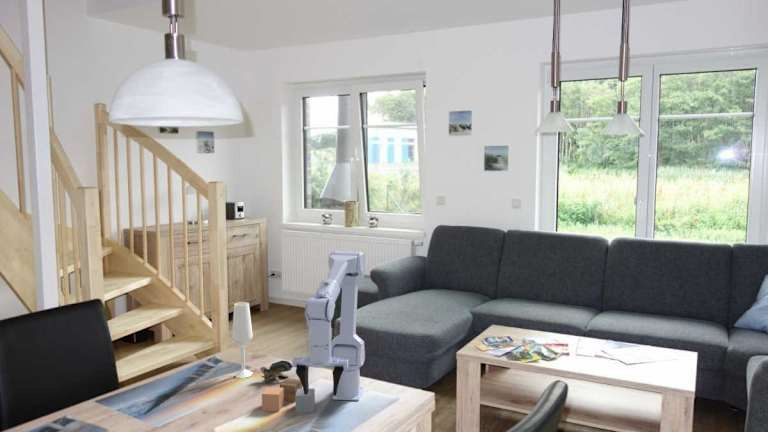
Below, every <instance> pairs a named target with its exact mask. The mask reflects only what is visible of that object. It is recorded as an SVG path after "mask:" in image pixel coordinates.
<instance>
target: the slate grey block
mask: <svg viewBox="0 0 768 432" xmlns="http://www.w3.org/2000/svg"><path fill="white" fill-rule="evenodd" d="M315 393H316V389H315V388H309V392H308V393H307V395H306V394H304V390H303V388H302V389H297V392H296V396H295V397H296V402H295V413H314V412H315V411H314V410H315V406H316V403H315V402H316V398H315V397H316V396H315V395H316V394H315Z"/></svg>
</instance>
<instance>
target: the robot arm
mask: <svg viewBox="0 0 768 432" xmlns="http://www.w3.org/2000/svg"><path fill="white" fill-rule="evenodd" d="M328 268H329V272H328V275H327V277H326V279H323V280H322V281H321V282H320V284H319V286H318V288H317V290H316V291H315V293H314V295H313V297H310V298H309V299H307V300H306V303H305V308H304V317H305V320H306V326H307V327H308V343H309V344H308V353H309V354H308V355H309V356H304V357H293V359H291V360H292V361H291V364H292V368H296V369H295V374H296V375H297V377H298V378H299V380H300V381H301V383H302V389H303V390H304V394H306V395H307V393H308V392H309V389H310V386H309V370H310V369H309V368H314V369H315V368H316V369H318V368H319V369H321V368H332V369H333V370H332V380H333V383H332V384H333V388H332V397H331V398H332V400H336V401H360V397H361V395H362V392H363V390H364V387H363V386H360V385H361V384H360V383H361V381H360V378H361V376H360V374H361V373H360V371H361V370H360V368H361V367H362V366H363V365H364V364H365V363H364V362H365V359H366V350H365V341H364V340H363V339H362V338H361V337H359V335H358V334H357V313H358V311H357V309H358V292H359V282H360V280H363V279H364V278H365V272H366V271H365V269H366V256H365V254H364V253H363V251H346V250H345V251H341V250H334V249H333V250H332V251H331V252H330V253H329V256H328ZM341 283H342V285H341V286H340V284H341ZM341 287H342V288H341ZM340 292H341V304H340V322H339V323H340V325H339V334H338V335H336V336H335V337H334V338H333V339H332V329H331V328H332V320H333V318H334V314H335V308H336V301H337V299H338V298H339V295H340Z"/></svg>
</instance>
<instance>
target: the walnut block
mask: <svg viewBox="0 0 768 432" xmlns="http://www.w3.org/2000/svg"><path fill="white" fill-rule="evenodd" d="M279 388H284V402H291V403H292V402H293V403H296V397H295V396H296V392H297V389H303V386H302V383H301V381H300V379H296V378H289V377H288V378H287V377H285V379H283V381H281V382H280V383H279Z"/></svg>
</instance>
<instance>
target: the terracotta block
mask: <svg viewBox="0 0 768 432" xmlns="http://www.w3.org/2000/svg"><path fill="white" fill-rule="evenodd" d="M284 404H285V401H284V388H280V387H273V386H266V388H265V389H264V390H263V391H262V393H261V411H264V412H266V411H267V412H280V411H281V410H282V408H283V407H284Z"/></svg>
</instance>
